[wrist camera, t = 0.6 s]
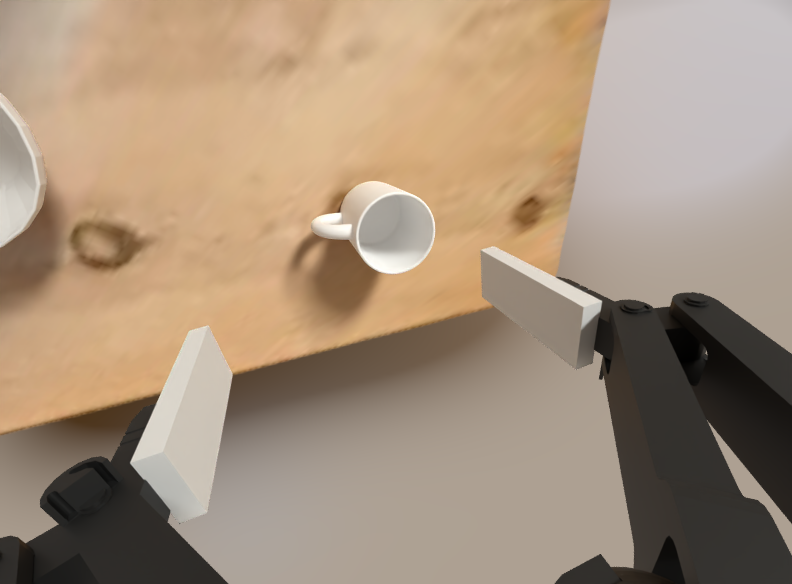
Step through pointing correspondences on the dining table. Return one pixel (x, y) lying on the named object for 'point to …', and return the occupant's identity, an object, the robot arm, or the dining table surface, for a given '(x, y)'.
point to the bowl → (18, 174)
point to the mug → (382, 226)
